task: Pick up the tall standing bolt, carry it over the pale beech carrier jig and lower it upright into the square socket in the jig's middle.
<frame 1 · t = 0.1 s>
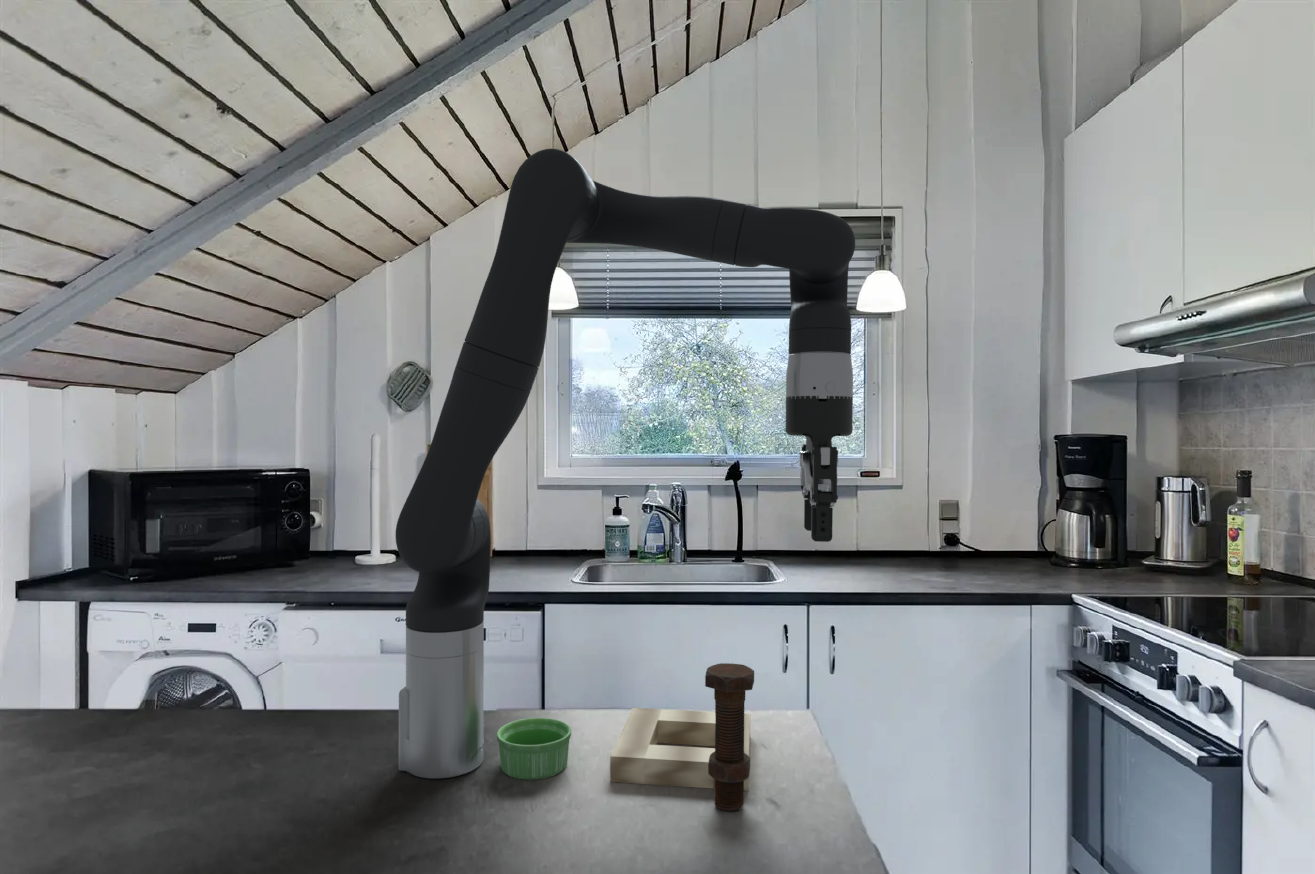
hand: (817, 535, 91), 29 cm above the countertop, tool pointing down, fingers open, 8 cm apart
carrier jig: (685, 757, 99), on the countertop
bolt: (729, 808, 86), on the countertop
ramekin: (534, 768, 97), on the countertop
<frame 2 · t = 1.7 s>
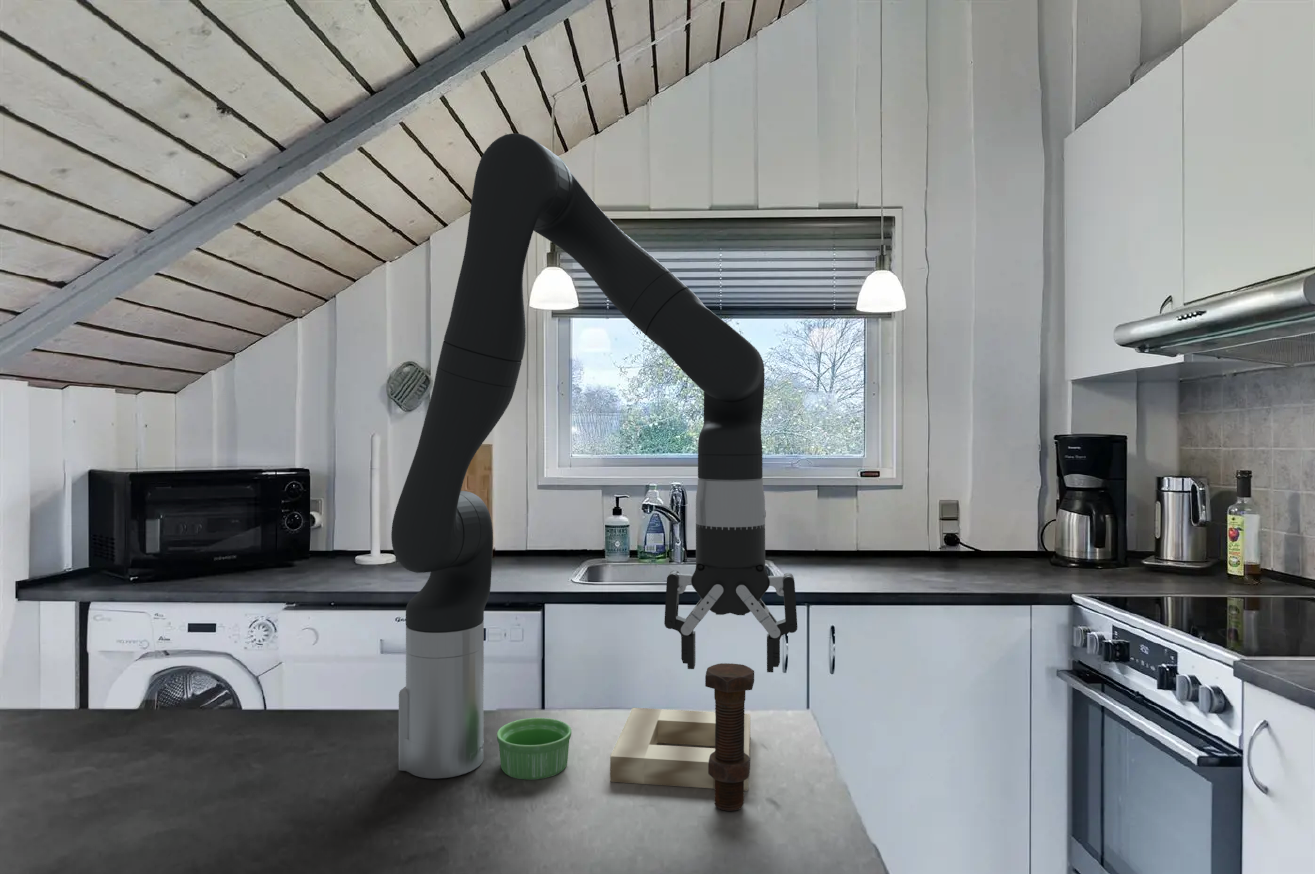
hand: (730, 668, 86), 15 cm above the countertop, tool pointing down, fingers open, 8 cm apart
nothing on the countertop moved.
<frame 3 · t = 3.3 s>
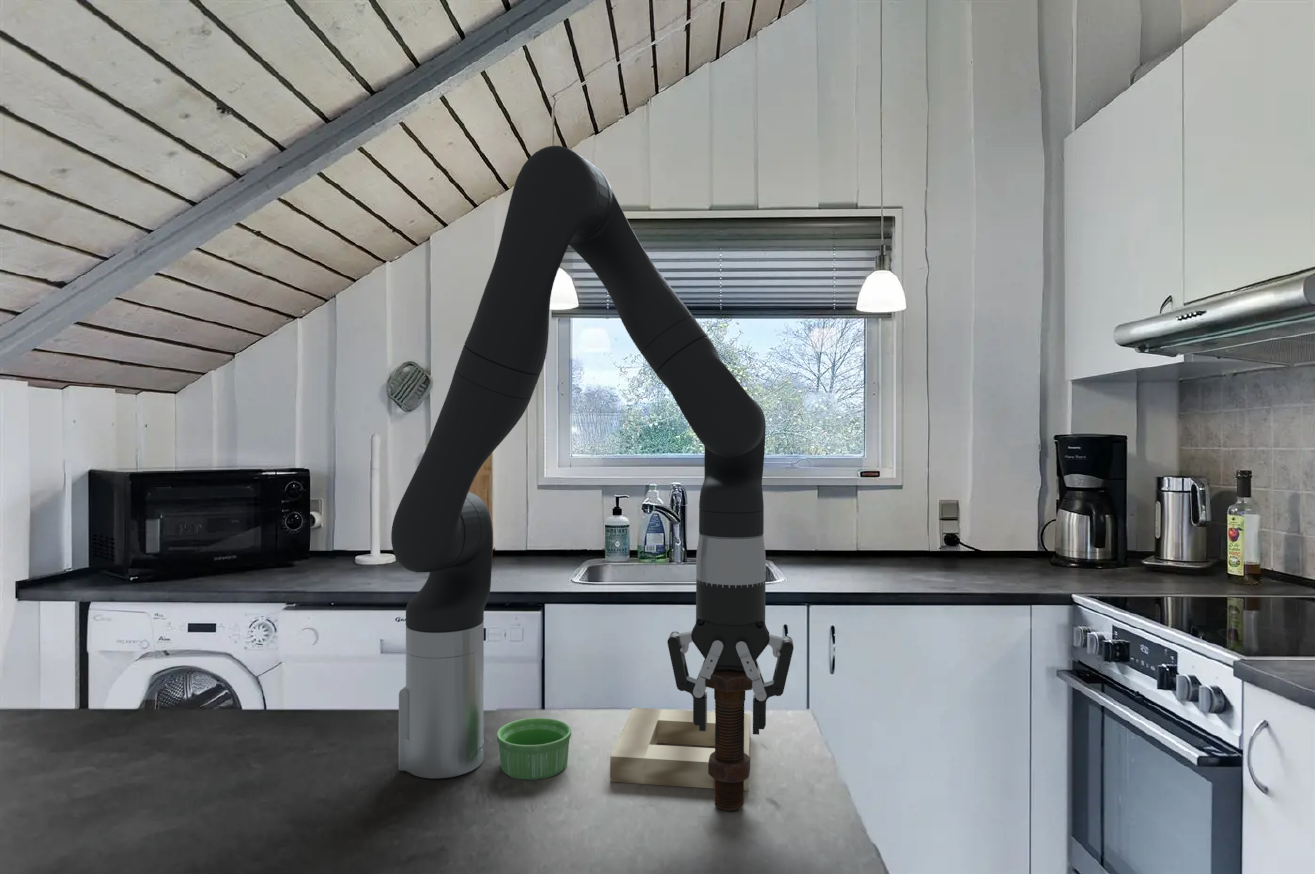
hand: (729, 729, 86), 8 cm above the countertop, tool pointing down, fingers closed on bolt, 5 cm apart
bolt: (729, 808, 86), on the countertop, touching gripper
everything else where it was.
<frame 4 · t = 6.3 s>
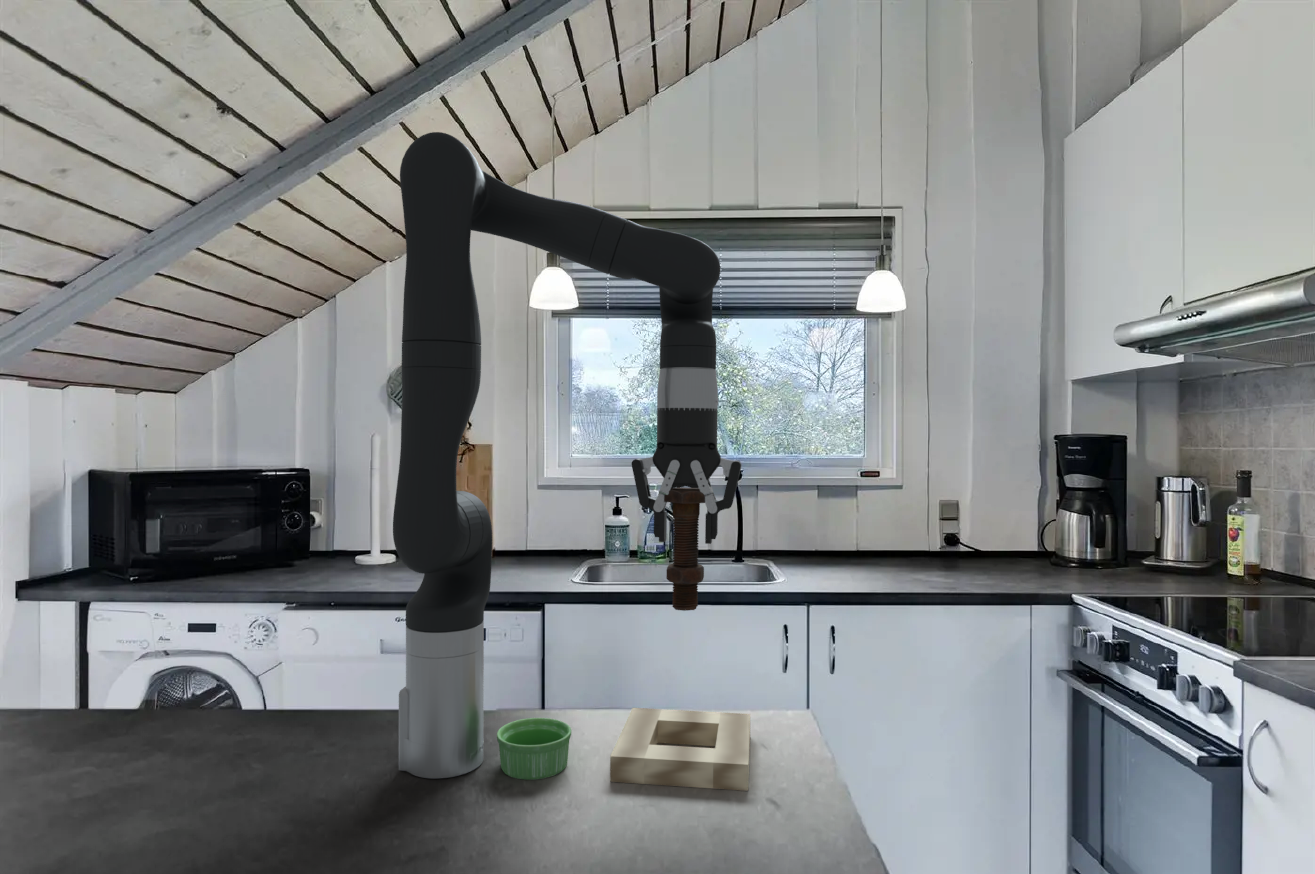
hand: (685, 541, 99), 27 cm above the countertop, tool pointing down, fingers closed on bolt, 5 cm apart
bolt: (684, 610, 99), point 18 cm above the countertop, touching gripper
everything else where it was.
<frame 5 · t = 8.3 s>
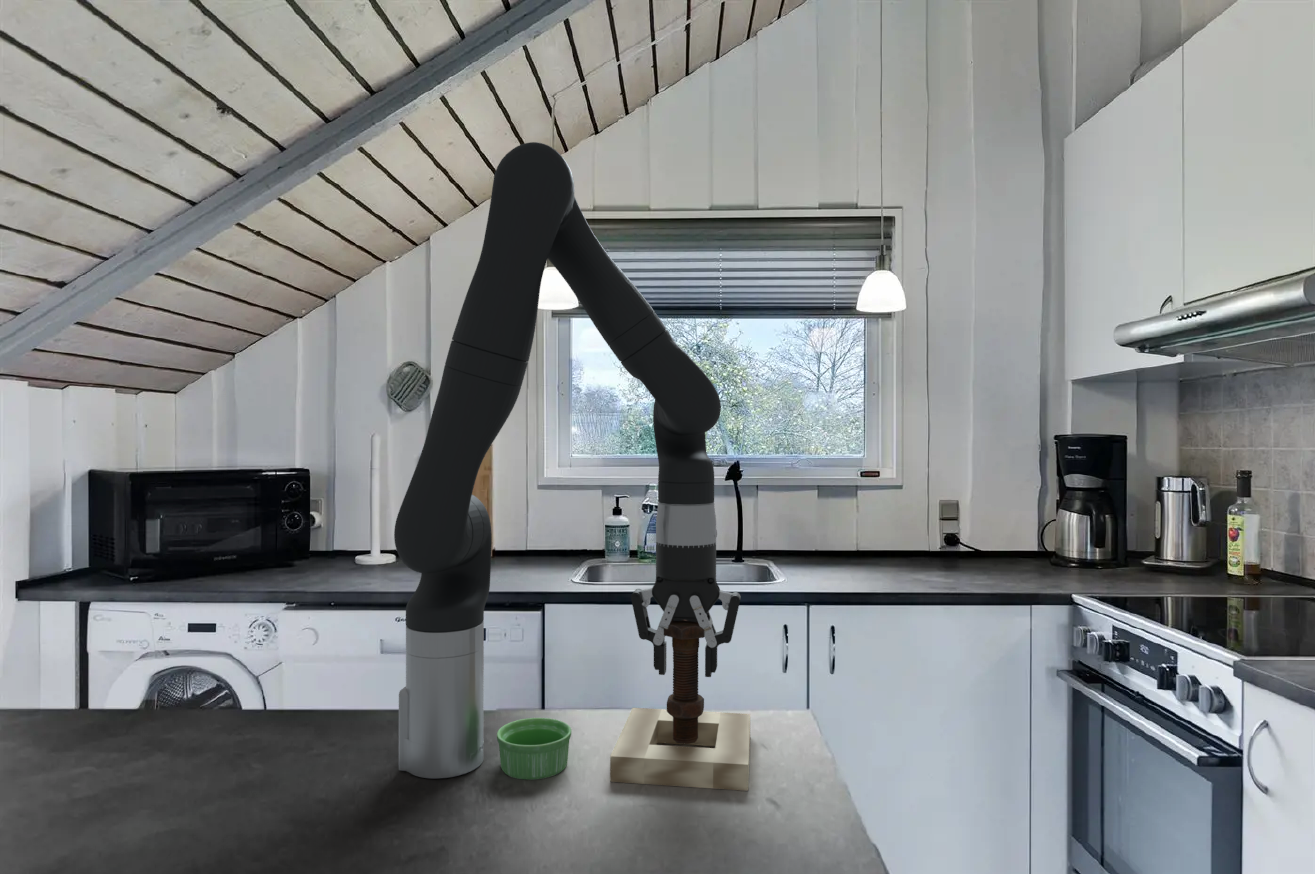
hand: (685, 673, 99), 11 cm above the countertop, tool pointing down, fingers closed on bolt, 5 cm apart
bolt: (685, 742, 99), point 2 cm above the countertop, touching gripper
everything else where it was.
when the fingers open (9 cm above the countertop, at t = 9.4 s): bolt stays where it is, resting in carrier jig.
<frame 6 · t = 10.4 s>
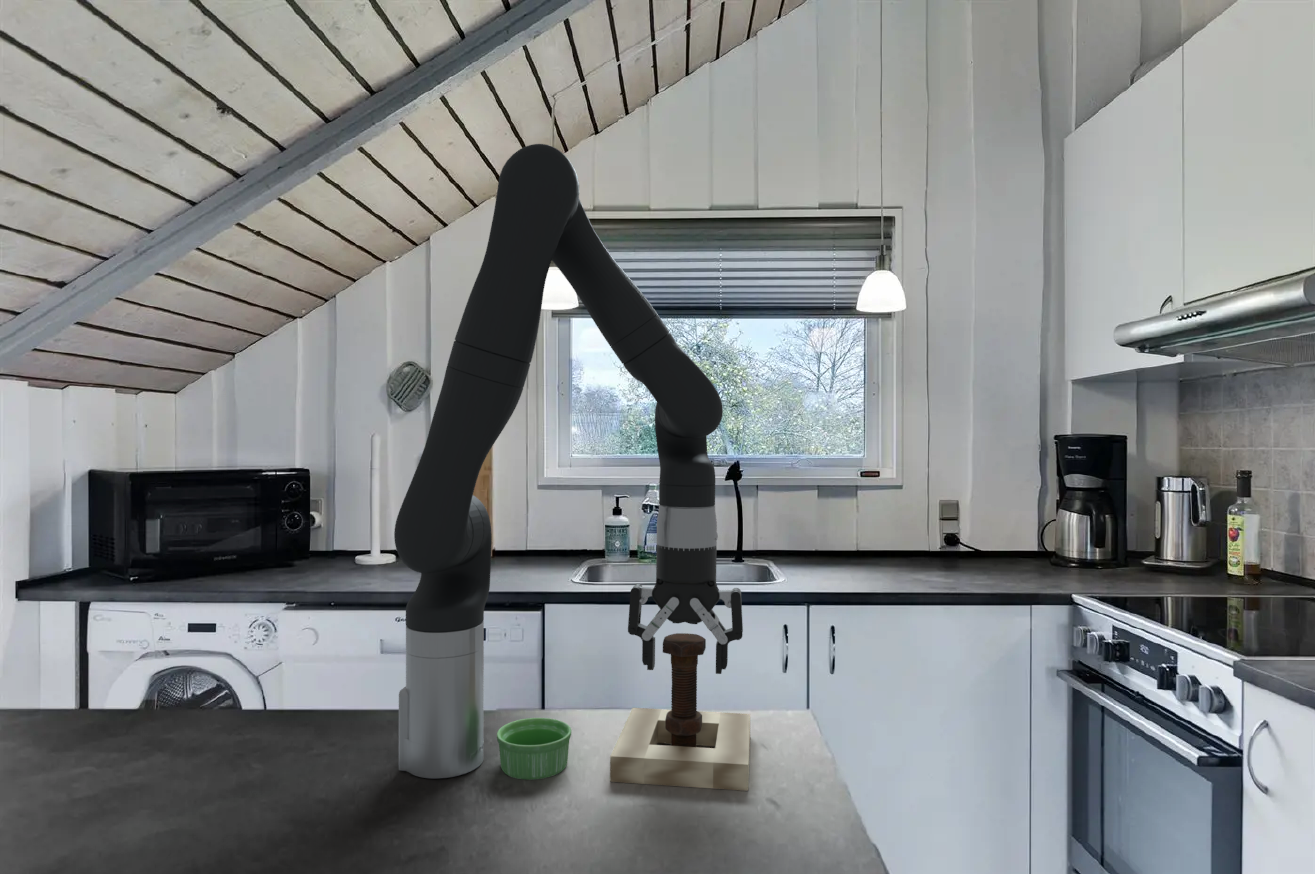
hand: (684, 670, 99), 11 cm above the countertop, tool pointing down, fingers open, 8 cm apart
bolt: (683, 758, 99), resting in carrier jig
everything else where it was.
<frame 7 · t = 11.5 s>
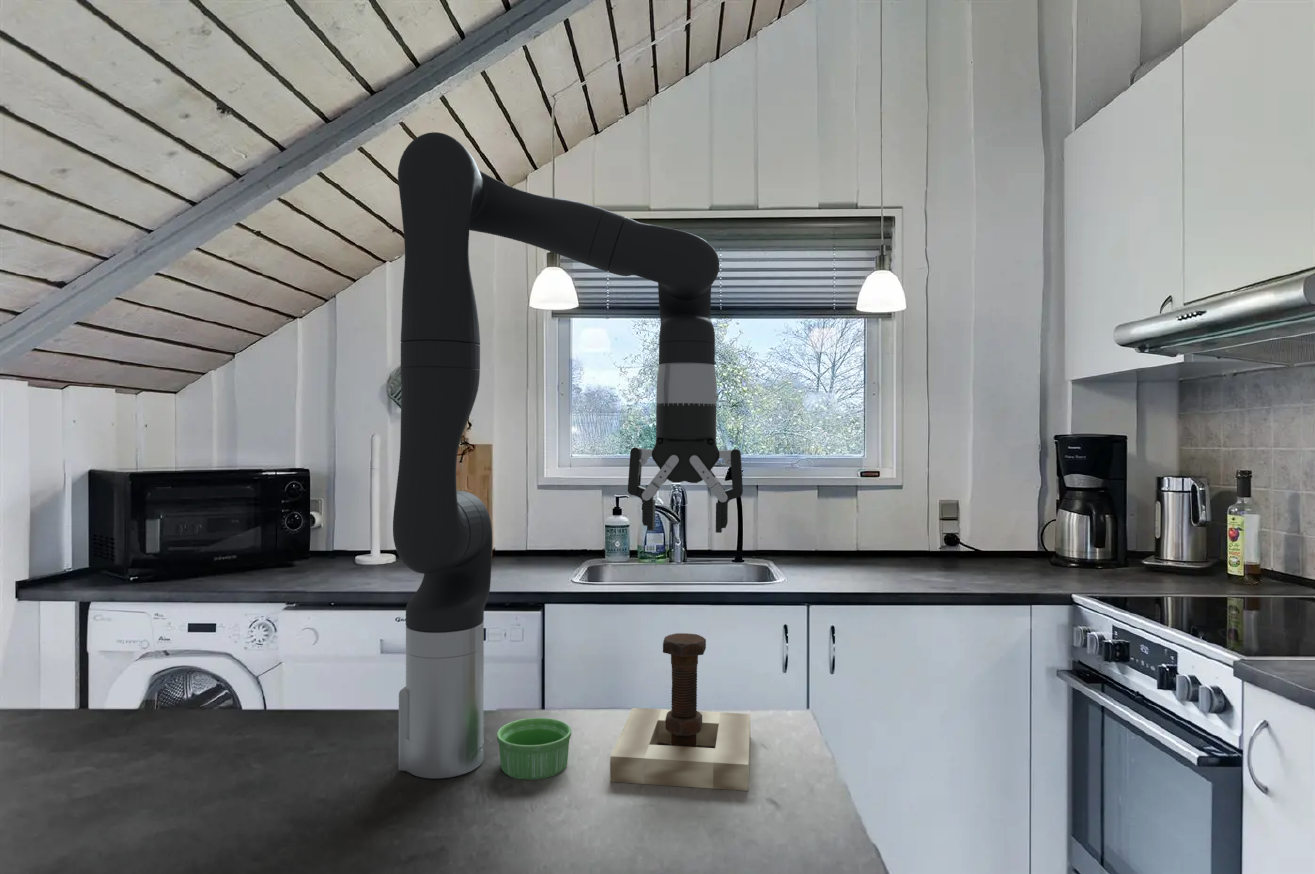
hand: (684, 530, 99), 28 cm above the countertop, tool pointing down, fingers open, 8 cm apart
nothing on the countertop moved.
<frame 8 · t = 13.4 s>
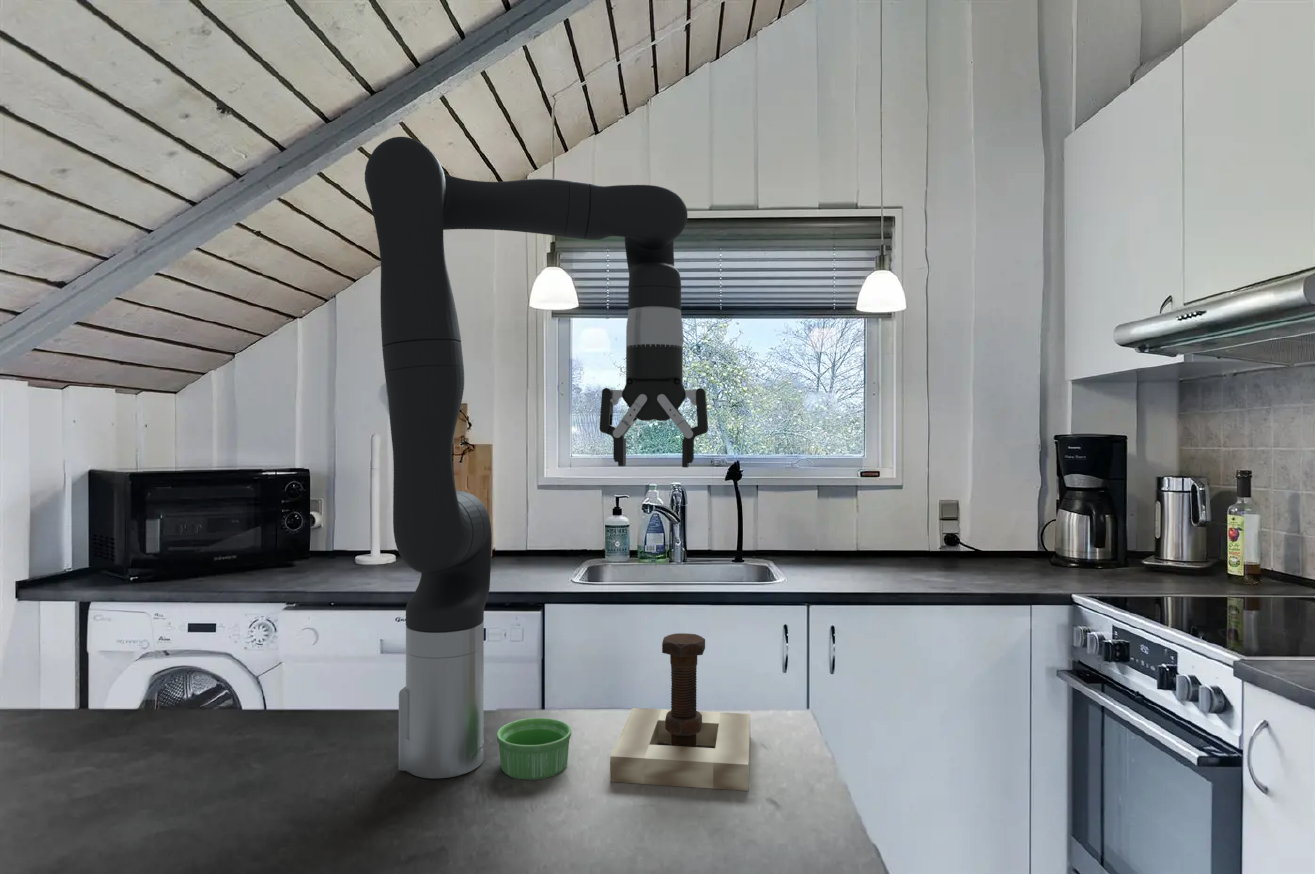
hand: (653, 466, 105), 36 cm above the countertop, tool pointing down, fingers open, 8 cm apart
nothing on the countertop moved.
at the end: bolt 0.2 cm off-centre on the carrier jig, point 0.0 cm above the carrier jig's base; bolt tilted 0°; the gripper is holding nothing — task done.
